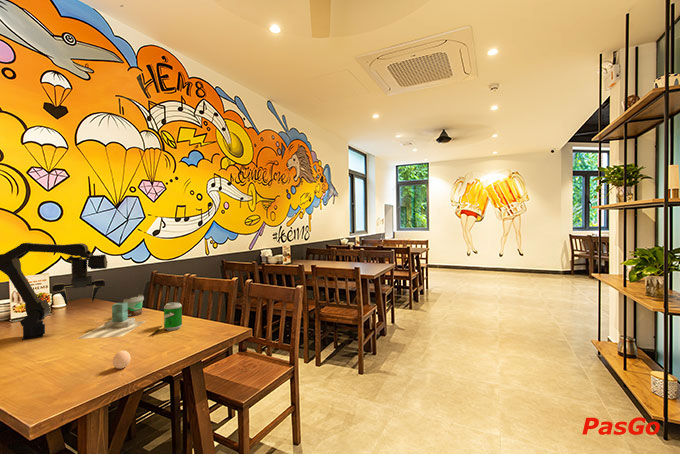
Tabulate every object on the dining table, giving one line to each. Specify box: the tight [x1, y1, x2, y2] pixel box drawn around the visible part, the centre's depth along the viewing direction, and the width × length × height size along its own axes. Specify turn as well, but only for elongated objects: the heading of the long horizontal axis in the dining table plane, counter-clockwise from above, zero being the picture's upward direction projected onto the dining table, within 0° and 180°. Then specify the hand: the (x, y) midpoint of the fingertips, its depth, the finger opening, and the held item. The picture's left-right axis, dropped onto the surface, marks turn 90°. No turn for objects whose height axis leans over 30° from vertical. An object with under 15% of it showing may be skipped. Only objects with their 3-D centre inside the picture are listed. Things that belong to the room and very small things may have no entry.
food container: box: [122, 294, 145, 318], centre depth 171 cm, size 12×6×10 cm, turn 179°
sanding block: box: [103, 302, 136, 328], centre depth 147 cm, size 10×6×10 cm, turn 98°
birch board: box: [76, 320, 147, 340], centre depth 143 cm, size 18×22×2 cm
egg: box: [112, 350, 131, 370], centre depth 106 cm, size 5×5×6 cm
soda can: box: [163, 301, 183, 332], centre depth 147 cm, size 8×8×12 cm
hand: (80, 303), depth 145 cm, fingers open, 9 cm apart
